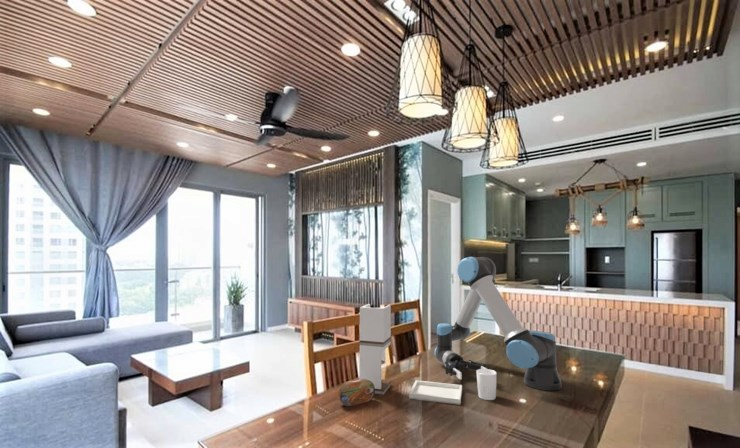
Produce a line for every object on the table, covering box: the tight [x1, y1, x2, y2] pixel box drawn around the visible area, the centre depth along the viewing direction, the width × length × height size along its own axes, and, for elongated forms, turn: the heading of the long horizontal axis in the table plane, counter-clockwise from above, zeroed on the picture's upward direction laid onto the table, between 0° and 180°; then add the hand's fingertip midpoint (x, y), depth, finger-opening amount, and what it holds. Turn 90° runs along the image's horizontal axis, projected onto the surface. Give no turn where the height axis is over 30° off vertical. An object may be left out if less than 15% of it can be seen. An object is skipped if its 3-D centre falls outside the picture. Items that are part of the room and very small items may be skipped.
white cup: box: [475, 368, 497, 401], centre depth 148 cm, size 8×8×10 cm
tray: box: [408, 379, 463, 406], centre depth 151 cm, size 20×16×2 cm
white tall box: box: [358, 303, 392, 396], centre depth 158 cm, size 11×11×35 cm
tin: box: [337, 379, 375, 407], centre depth 142 cm, size 15×3×8 cm, turn 118°
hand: (475, 375), depth 157 cm, fingers open, 13 cm apart
